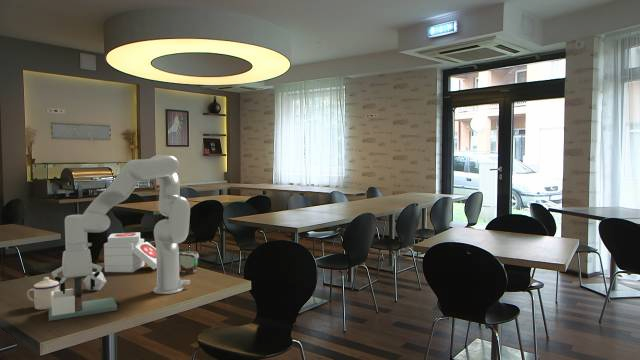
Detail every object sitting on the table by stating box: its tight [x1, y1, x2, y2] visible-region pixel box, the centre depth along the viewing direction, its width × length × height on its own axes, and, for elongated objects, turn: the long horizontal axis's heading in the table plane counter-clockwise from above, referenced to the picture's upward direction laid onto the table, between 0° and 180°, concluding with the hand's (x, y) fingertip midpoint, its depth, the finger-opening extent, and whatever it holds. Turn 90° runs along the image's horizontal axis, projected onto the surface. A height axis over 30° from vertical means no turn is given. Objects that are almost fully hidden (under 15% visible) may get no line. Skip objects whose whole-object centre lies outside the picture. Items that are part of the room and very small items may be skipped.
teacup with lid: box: [26, 276, 61, 311], centre depth 186 cm, size 12×9×12 cm
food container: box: [179, 250, 200, 274], centre depth 242 cm, size 12×6×10 cm, turn 58°
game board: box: [48, 288, 118, 322], centre depth 181 cm, size 23×14×8 cm, turn 120°
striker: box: [73, 276, 83, 310], centre depth 180 cm, size 2×10×11 cm, turn 30°
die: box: [82, 271, 107, 291], centre depth 209 cm, size 8×9×10 cm
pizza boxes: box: [103, 231, 157, 273], centre depth 249 cm, size 19×30×18 cm, turn 87°
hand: (78, 291), depth 180 cm, fingers open, 9 cm apart
